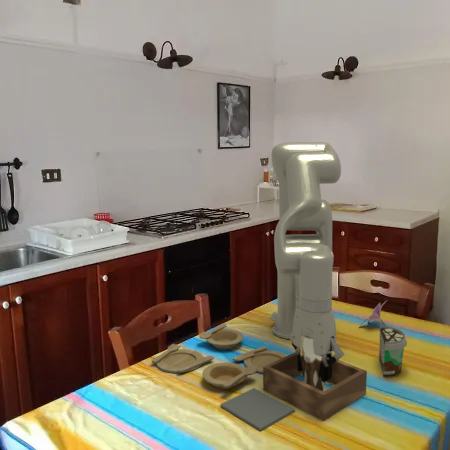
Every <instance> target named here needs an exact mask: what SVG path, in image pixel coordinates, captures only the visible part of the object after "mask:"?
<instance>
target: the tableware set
mask: <svg viewBox="0 0 450 450" xmlns="http://www.w3.org/2000/svg"><path fill="white" fill-rule="evenodd" d="M198 336H199V339H203V340H205V341H206V342H207V343H209V344H211V345H213V348H215V349H218V350H225V351H226V350H231V349H234V348H235V347H236V346H237V344H239V343H241V342H243V340H244V337H245V336H244V334H243V333H242V331H240V330H237V329H234V328H233V329H232V328H227V324H226V323H221V324H219V325H218V326H217V327H215V328H213V329H212V330H209V331H206V332H202V333H200V334H199V335H198ZM181 347H182V345H180V344H175V343H172V344H171V345H169V346H168V347H167V349H166V351H164V352H162V353H161V354H159V355H157V356H156V357H154V358H152V359H151V364H156V367H157V368H158V369H159V370H161V371H162V372H166V373H173V374H182V373H188V372H192V371H195V370H197V369H199V368H201V367H202V365H203V364H206V363H209V362H211V361H213V360H215V357H214V356H213V355H206V356H204V355H203V354H202V353H201V352H199V351H197V350H193V349H189V348H188V349H187V348H181ZM180 348H181V349H180ZM268 349H269V348H268V346H266V345H265V346H260V347H258V348H255V349H253V350H250V351H247V352H244V353H242V354H239V355H237V356H234V357H232V361H234V362H241V361H243V364H244V366H245V367H244V366H243V365H241V364H237V363H234V362H228V361H227V362H225V361H224V362H216V363H213V364H210V365H208V366H206V367H205V368H204V369H203V371H202V379H203V380H204V381H205V382H207V383H208V384H211V385H212V386H213V387H215V388H217V389H224V390H226V389H232V388H235V387H237V386H238V385H239V384H241V383H243V382H244V381H245V380H246V379H247V378H248V376H253V375H254V374H255V373H258V374H263V367H264V366H266V365H268V364H270V363H273V362H275V361H277V360H279V359H281V358H284V357H286V356H288V355H290V354H291V353H289V354H288V355H287V353H284V352H281V351H277V350H271V349H269V350H268Z"/></svg>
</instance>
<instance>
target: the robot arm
mask: <svg viewBox="0 0 450 450" xmlns="http://www.w3.org/2000/svg"><path fill="white" fill-rule="evenodd" d="M270 155H271V163H272V168H273V171H274V174H275V177H276V179H277V183H278V197H279V198H278V199H279V200H278V202H279V203H278V205H279V206H278V208H279V209H278V210H279V211H278V212H279V213H278V215H279V220H278V223H277V224H276V227H275V229H274V235H273V236H274V237H273V244H274V245H273V246H274V262H275V266H276V267H275V268H276V269H277V270H276V271H277V272H276V273H277V312H275V311H274V312H272V315H270V316H269V319H270V321H273V322H275V323H274V325H273V326H272V332H273V334H274V335H275V336H277V337H279V338H282V339H286V340H287V339H288V340H289V341H290V342H291V345H292V347H293V348H294V350H295V351H294V353H296V355H298V359H297V364H298V368H297V370H298V371H302V366H301V360H300V345H301V335H304V336H305V337H308V338H312V339H314V340H313V347H314V354H316V355H319V356H322V361H323V364H324V365H322V367H321V381H322V382H325V383H326V382H328V380H329V379H331V377H332V364H334V363H335V362H336V361H338V360H340V359H341V358H342V357H344V355H345V353H344V351H343V350H342V349H341V347H340V346H339V344H338V343H337V327H336V325H337V324H336V319H335V313H334V311H333V310H332V305H333V304H332V303H333V299H332V298H333V267H334V252H333V212H332V211H333V210H332V207H331V204H330V202H328V201H327V200H325V199H322V194H321V184H322V185H323V184H327V185H328V184H329V185H330V184H336V183H338V181H339V180H340V178H341V174H342V165H341V161H340V157H339V155H338V153H337V152H336V150H335V148H334V147H333V146H332V145H331V144H330V143H328V142H325V141H324V142H322V141H321V142H320V141H312V142H311V141H310V142H307V141H306V142H302V141H299V142H297V141H296V142H294V141H293V142H284V143H279V144H276V145H275V146H273V148H272V150H271V154H270ZM287 231H315V232H316V233H315V234H314V233H312V234H296V233H295V234H294V233H293V234H286V233H287ZM327 354H328V359H327V356H326V355H327Z"/></svg>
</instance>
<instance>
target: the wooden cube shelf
mask: <svg viewBox="0 0 450 450" xmlns="http://www.w3.org/2000/svg"><path fill="white" fill-rule="evenodd" d="M289 354H290V355H289ZM289 354H288V356H286V357H284V358H281V359H279V360H277V361H275V362H273V363H270V364H268V365H266V366H264V367H263V373H262V390H264V391H265V392H267V393H268V394H271V395H274V396H275V397H276V398H279V399H281V400H283V401H284V402H287V403H289V404H291V405H292V406H294V407H296V408H298V409H300V410H302V411H304V412H305V413H307V414H310V415H312V416H314V417H315V418H318V419H319V420H320V421H324V422H325V421H326V420H328V419H329V418H331V417H333V416H334V415H335V414H337V413H339V412H340V411H342V410H343V409H345V408H347V407H348V406H350V405H351V404H353V403H355V402H356V401H357V400H360V399H361V398H363V397H364V396H366V395H367V378H368V377H367V375H368V371H367V370H365V369H363V368H360V367H358V366H355V365H352V364H350V363H347V362H345V361H342V360H340V359H339V360H338V361H336V362H335V363H334V364H332V377H331V379H329V380H327V382H331V383H333V384H334V385H332V386H331V387H329V388H326V390H325V391H321V390H319V389H317V388H315V387H312V386H310V385H308V384H306V383H304V382H303V380H299V379H297V378H296V377H298V376H300V375H303V371H298V370H297V368H298V364H297V359H298V355H296V353H295V352H293V353H289Z"/></svg>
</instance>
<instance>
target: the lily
mask: <svg viewBox="0 0 450 450" xmlns="http://www.w3.org/2000/svg"><path fill="white" fill-rule="evenodd" d="M386 302H387V300H386V301H384V302H383V303H382V304H381V302H379V303H378V304H377V305H376V306H375V308H373V310H369V312H370V313H372V314H371V315H370V316H368V318H366V319H365V320H363V322H361V323H360V325H359V326H358V328H360V327H361V326H362V325H363V324H364V323H365V322H367V323H369V322H370V321H373V320H374V321H375V320H376V321H377V320H380V322H381V323H382V324H383V326H386V324H385V322H384V321H383V319H382V318H381V310H382V308H383V306H384V305H385V304H386Z"/></svg>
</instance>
